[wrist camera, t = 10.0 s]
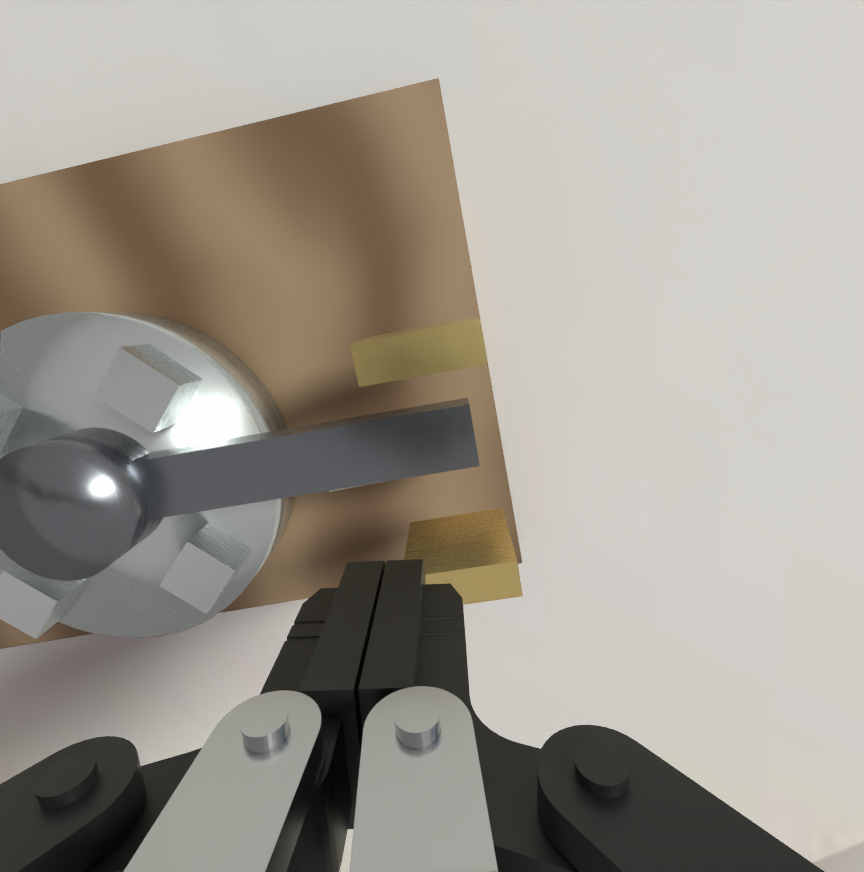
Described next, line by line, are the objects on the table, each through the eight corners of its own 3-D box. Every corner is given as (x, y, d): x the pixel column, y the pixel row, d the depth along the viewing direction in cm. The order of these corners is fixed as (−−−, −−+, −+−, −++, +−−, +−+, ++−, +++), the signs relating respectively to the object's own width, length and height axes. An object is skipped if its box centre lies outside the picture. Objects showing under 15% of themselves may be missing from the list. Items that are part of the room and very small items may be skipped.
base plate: (21, 629, 24) (-10, 652, 22) (-153, 238, 20) (-208, 232, 18) (517, 546, 22) (522, 565, 21) (439, 96, 18) (438, 75, 16)
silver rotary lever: (-52, 343, 19) (-341, 362, 12) (456, 244, 18) (461, 200, 11) (59, 618, 22) (-123, 764, 15) (505, 552, 20) (535, 678, 13)
